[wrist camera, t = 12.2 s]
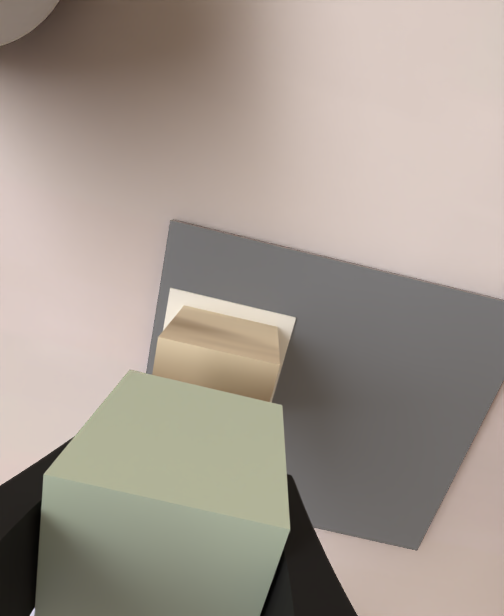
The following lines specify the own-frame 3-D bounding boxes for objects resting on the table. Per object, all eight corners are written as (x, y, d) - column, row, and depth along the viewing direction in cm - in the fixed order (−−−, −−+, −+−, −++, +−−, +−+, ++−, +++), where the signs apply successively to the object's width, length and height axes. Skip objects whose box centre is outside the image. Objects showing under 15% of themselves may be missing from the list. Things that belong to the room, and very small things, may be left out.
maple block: (255, 407, 18) (252, 464, 14) (169, 388, 18) (141, 439, 14) (277, 326, 16) (280, 364, 13) (184, 305, 16) (158, 337, 12)
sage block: (247, 520, 11) (236, 682, 8) (112, 490, 11) (32, 638, 7) (282, 405, 10) (289, 529, 6) (129, 369, 10) (43, 474, 6)
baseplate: (413, 542, 21) (417, 552, 20) (131, 479, 20) (127, 487, 20) (531, 306, 16) (541, 310, 16) (173, 219, 16) (169, 220, 15)
